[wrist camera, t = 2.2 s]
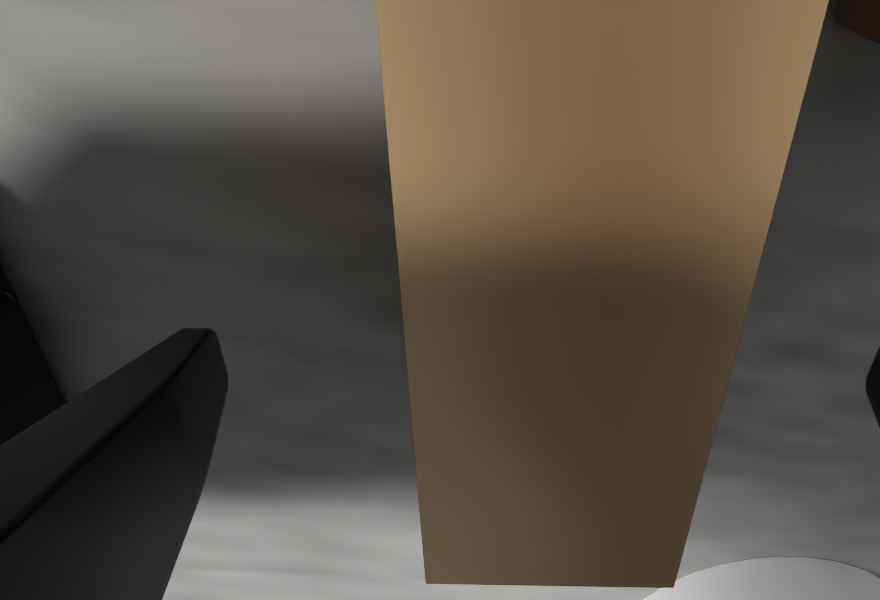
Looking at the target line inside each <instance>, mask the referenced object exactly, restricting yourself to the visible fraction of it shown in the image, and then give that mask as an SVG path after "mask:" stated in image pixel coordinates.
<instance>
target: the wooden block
mask: <svg viewBox="0 0 880 600" xmlns="http://www.w3.org/2000/svg"><path fill="white" fill-rule="evenodd" d="M828 2H829V0H375V3H376V14H377V26H378V37H379V49H380V60H381V72H382V83H383V95H384V106H385V118H386V129H387V141H388V152H389V164H390V175H391V187H392V198H393V210H394V222H395V233H396V245H397V256H398V268H399V279H400V291H401V302H402V314H403V325H404V337H405V348H406V360H407V371H408V383H409V394H410V406H411V417H412V429H413V441H414V452H415V464H416V475H417V487H418V498H419V510H420V521H421V533H422V544H423V556H424V567H425V579H426V584H481V585H539V586H597V587H655V588H674V585H675V581H676V577H677V573H678V570H679V566H680V562H681V558H682V554H683V551H684V547H685V543H686V539H687V536H688V532H689V528H690V524H691V520H692V517H693V513H694V509H695V505H696V501H697V498H698V494H699V490H700V486H701V483H702V479H703V475H704V471H705V467H706V464H707V460H708V456H709V452H710V449H711V445H712V441H713V437H714V433H715V430H716V426H717V422H718V418H719V415H720V411H721V407H722V403H723V399H724V396H725V392H726V388H727V384H728V380H729V377H730V373H731V369H732V365H733V362H734V358H735V354H736V350H737V346H738V343H739V339H740V335H741V331H742V328H743V324H744V320H745V316H746V312H747V309H748V305H749V301H750V297H751V294H752V290H753V286H754V282H755V278H756V275H757V271H758V267H759V263H760V259H761V256H762V252H763V248H764V244H765V241H766V237H767V233H768V229H769V225H770V222H771V218H772V214H773V210H774V207H775V203H776V199H777V195H778V191H779V188H780V184H781V180H782V176H783V173H784V169H785V165H786V161H787V157H788V154H789V150H790V146H791V142H792V139H793V135H794V131H795V127H796V123H797V120H798V116H799V112H800V108H801V104H802V101H803V97H804V93H805V89H806V86H807V82H808V78H809V74H810V70H811V67H812V63H813V59H814V55H815V52H816V48H817V44H818V40H819V36H820V33H821V29H822V25H823V21H824V18H825V14H826V10H827V6H828Z"/></svg>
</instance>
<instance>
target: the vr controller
mask: <svg viewBox="0 0 880 600" xmlns="http://www.w3.org/2000/svg"><path fill="white" fill-rule="evenodd" d="M644 600H880V578H878V577H877V576H875V575H873V574H871V573H869V572H867V571H865V570H863V569H860V568H857V567H854V566H851V565H848V564H844V563H841V562H837V561H831V560H824V559H818V558H811V557H780V556H779V557H767V558H756V559H746V560H741V561H736V562H731V563H726V564H721V565H716V566H713V567H710V568H707V569H704V570H701V571H698V572H695V573H691V574H688V575H686V576H684V577H682V578H680V579H678V580H676V581H675V585H674V588H660V589H658V590H657V591H655V592H654V593H652V594H651V595H650V596H648V597H647V598H645V599H644Z"/></svg>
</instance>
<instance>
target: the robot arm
mask: <svg viewBox="0 0 880 600" xmlns="http://www.w3.org/2000/svg"><path fill="white" fill-rule="evenodd" d="M227 390H228V374H227V370H226V366H225V363H224V359H223V355H222V351H221V348H220V344H219V340H218V337H217V335H216V333H215V331H213V330H212V329H210V328H184V329H181V330H180V331H178V332H176V333H175V334H173V335H172V336H170V337H169V338H167V339H166V340H164V341H162V342H161V343H159V344H158V345H156V346H155V347H153V348H152V349H150V350H148V351H147V352H145V353H144V354H142V355H141V356H139V357H138V358H136V359H134V360H133V361H131V362H130V363H128V364H127V365H125V366H124V367H122V368H120V369H119V370H117V371H116V372H114V373H113V374H111V375H110V376H108V377H106V378H105V379H103V380H102V381H100V382H99V383H97V384H96V385H94V386H92V387H91V388H89V389H88V390H86V391H85V392H83V393H82V394H80V395H78V396H77V397H75V398H74V399H72V400H71V401H69V402H68V403H65V401H64V399H63V397H62V395H61V393H60V390H59V388H58V386H57V384H56V382H55V379H54V377H53V375H52V373H51V371H50V369H49V366H48V364H47V362H46V360H45V358H44V356H43V353H42V351H41V349H40V347H39V345H38V343H37V340H36V338H35V336H34V334H33V332H32V330H31V327H30V325H29V323H28V321H27V319H26V317H25V314H24V312H23V310H22V308H21V306H20V304H19V301H18V299H17V297H16V295H15V293H14V291H13V288H12V286H11V284H10V282H9V280H8V277H7V275H6V273H5V271H4V269H3V267H2V264H1V262H0V600H162V598H163V596H164V593H165V590H166V588H167V585H168V582H169V580H170V577H171V574H172V571H173V569H174V566H175V563H176V561H177V558H178V555H179V553H180V550H181V547H182V545H183V542H184V539H185V536H186V534H187V531H188V528H189V526H190V523H191V520H192V518H193V515H194V512H195V510H196V507H197V504H198V502H199V499H200V496H201V493H202V490H203V487H204V484H205V480H206V476H207V473H208V469H209V465H210V461H211V456H212V452H213V448H214V444H215V440H216V436H217V432H218V427H219V423H220V419H221V415H222V411H223V407H224V403H225V399H226V394H227ZM866 392H867V396H868V399H869V402H870V404H871V407H872V409H873V412H874V415H875V417H876V420H877V422H878V425H879V428H880V346H879V349H878V351H877V353H876V356H875V358H874V361H873V363H872V365H871V368H870V370H869V372H868V375H867V378H866Z"/></svg>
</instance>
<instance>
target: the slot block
mask: <svg viewBox="0 0 880 600" xmlns="http://www.w3.org/2000/svg"><path fill="white" fill-rule="evenodd" d="M834 22H836V23H838V24H840V25H842V26H844V27H846V28H848V29H850V30H852V31H854V32H856V33H858V34H860V35H862V36H864V37H866V38H868V39H870V40H872V41H874V42H876V43H878V44H880V0H840V1H839V5H838V8H837V12H836V15H835V19H834Z"/></svg>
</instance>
